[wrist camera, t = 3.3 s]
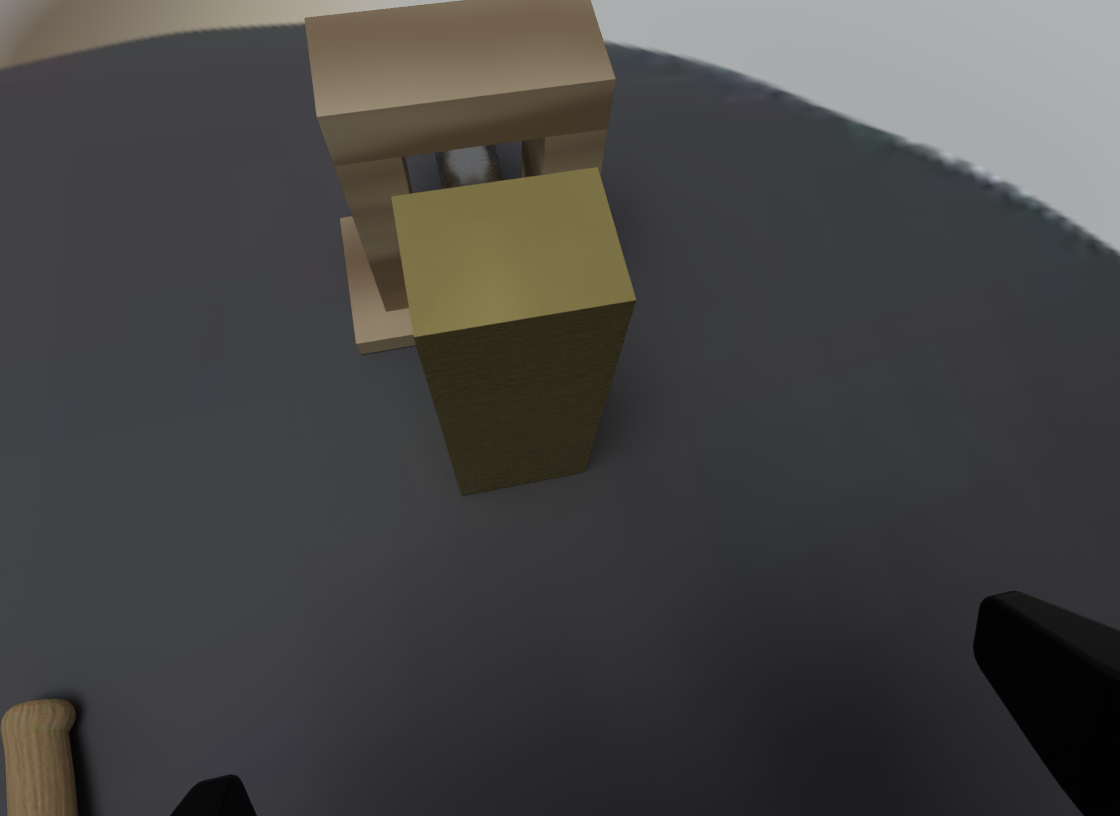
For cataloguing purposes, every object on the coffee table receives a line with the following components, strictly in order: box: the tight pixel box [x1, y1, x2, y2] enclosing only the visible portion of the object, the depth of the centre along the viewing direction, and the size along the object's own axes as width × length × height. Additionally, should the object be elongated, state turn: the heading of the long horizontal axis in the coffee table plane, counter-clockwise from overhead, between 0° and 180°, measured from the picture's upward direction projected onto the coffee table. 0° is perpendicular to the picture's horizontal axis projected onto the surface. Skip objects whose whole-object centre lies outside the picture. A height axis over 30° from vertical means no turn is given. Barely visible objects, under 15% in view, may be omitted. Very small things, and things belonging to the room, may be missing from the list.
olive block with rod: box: [391, 144, 636, 496], centre depth 20 cm, size 13×4×11 cm, turn 12°
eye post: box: [305, 0, 615, 354], centre depth 21 cm, size 5×9×10 cm, turn 102°
